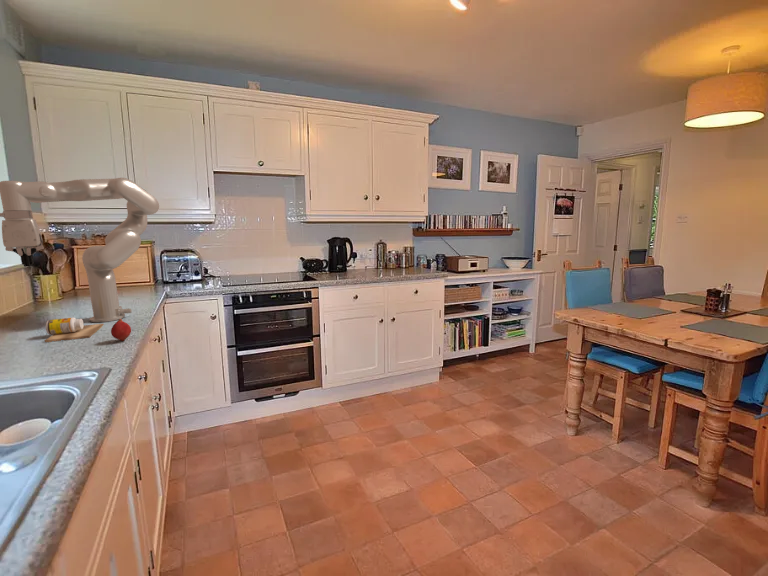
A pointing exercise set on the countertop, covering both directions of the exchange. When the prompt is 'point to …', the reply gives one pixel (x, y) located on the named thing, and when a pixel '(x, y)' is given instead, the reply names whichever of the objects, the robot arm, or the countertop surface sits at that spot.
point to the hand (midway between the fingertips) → (28, 266)
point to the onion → (120, 330)
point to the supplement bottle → (63, 325)
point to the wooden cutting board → (76, 333)
